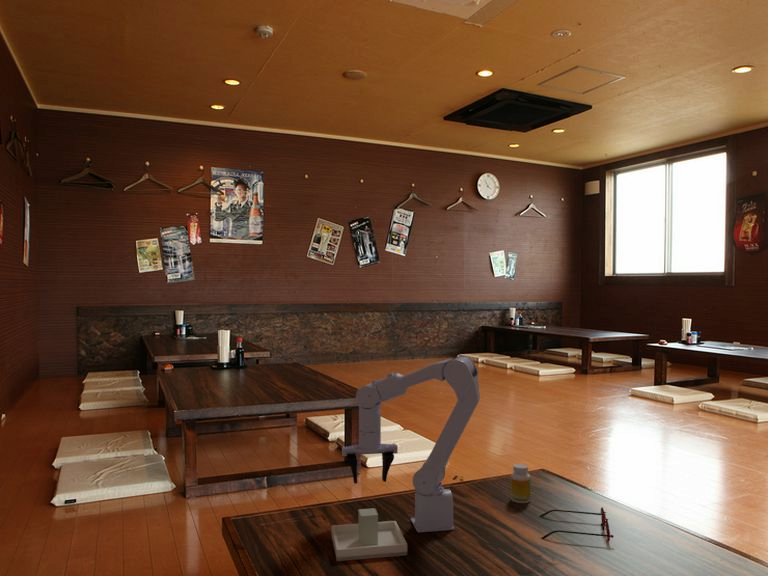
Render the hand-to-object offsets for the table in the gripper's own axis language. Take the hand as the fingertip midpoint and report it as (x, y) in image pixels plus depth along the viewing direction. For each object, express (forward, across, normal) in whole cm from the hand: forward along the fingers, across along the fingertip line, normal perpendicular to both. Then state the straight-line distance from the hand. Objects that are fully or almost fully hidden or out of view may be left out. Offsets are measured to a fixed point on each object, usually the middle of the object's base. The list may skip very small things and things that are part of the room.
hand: (369, 481), depth 152 cm
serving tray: (+9, +3, +16) cm, 19 cm away
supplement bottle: (+10, -44, -4) cm, 45 cm away
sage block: (+9, +3, +16) cm, 18 cm away
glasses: (+10, -49, +17) cm, 53 cm away
